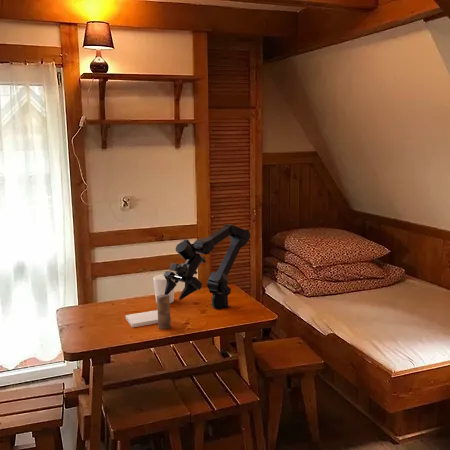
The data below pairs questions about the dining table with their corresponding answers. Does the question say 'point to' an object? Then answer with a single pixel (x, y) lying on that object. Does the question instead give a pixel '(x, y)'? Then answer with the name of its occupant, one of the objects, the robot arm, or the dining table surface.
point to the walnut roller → (163, 312)
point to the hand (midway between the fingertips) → (172, 297)
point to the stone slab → (142, 318)
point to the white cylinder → (162, 287)
